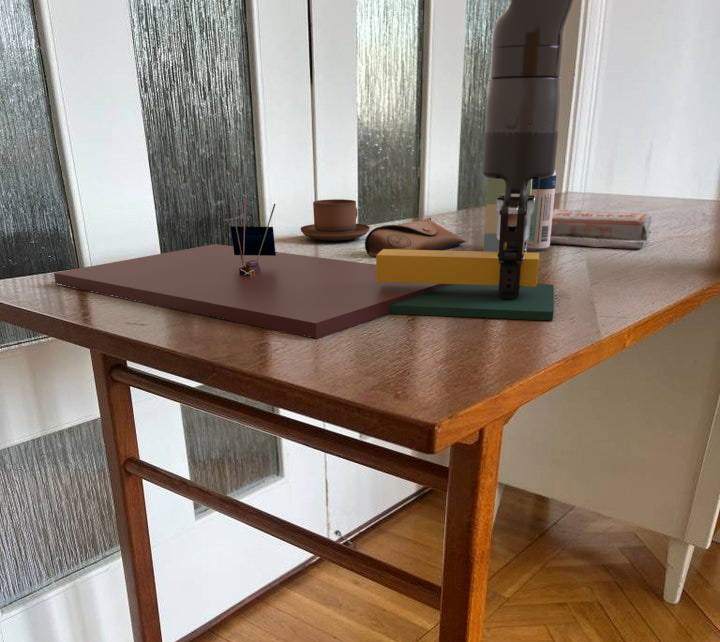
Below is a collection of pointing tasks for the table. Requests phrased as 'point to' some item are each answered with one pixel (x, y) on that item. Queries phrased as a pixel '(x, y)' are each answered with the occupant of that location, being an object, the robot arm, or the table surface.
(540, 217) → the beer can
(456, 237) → the sunglasses case
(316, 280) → the board
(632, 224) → the packaged product
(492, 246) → the tower
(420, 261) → the bar
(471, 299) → the mat
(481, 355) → the table surface
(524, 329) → the table surface
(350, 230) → the cup and saucer
